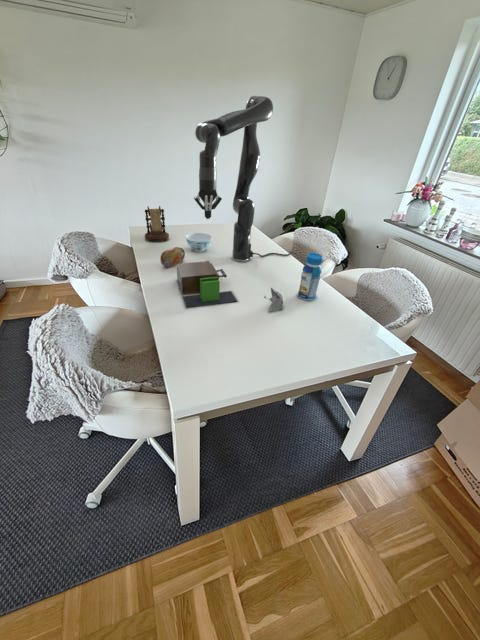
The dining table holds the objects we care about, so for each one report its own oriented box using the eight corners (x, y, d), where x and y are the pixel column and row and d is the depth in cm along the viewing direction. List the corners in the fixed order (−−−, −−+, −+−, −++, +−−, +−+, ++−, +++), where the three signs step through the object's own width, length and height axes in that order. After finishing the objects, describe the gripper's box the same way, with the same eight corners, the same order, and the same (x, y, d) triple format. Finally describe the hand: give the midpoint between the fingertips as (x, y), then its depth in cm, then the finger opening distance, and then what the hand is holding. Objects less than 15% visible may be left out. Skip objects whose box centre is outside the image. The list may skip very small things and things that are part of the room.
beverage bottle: (315, 302, 135) (325, 260, 124) (297, 299, 136) (304, 257, 125) (315, 293, 142) (324, 253, 131) (297, 291, 143) (305, 250, 132)
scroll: (146, 243, 183) (142, 209, 171) (143, 235, 194) (139, 203, 183) (171, 241, 187) (168, 208, 176) (166, 234, 199) (164, 202, 188)
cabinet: (208, 277, 150) (208, 261, 145) (216, 291, 138) (216, 274, 134) (177, 280, 145) (176, 263, 140) (182, 294, 134) (181, 277, 129)
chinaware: (216, 249, 182) (216, 236, 177) (201, 256, 171) (201, 243, 167) (197, 243, 188) (197, 231, 184) (181, 250, 177) (180, 237, 173)
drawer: (220, 275, 150) (221, 262, 147) (228, 287, 140) (229, 274, 136) (182, 278, 145) (181, 265, 141) (187, 291, 134) (186, 278, 131)
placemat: (230, 291, 138) (230, 291, 138) (236, 301, 131) (237, 300, 131) (183, 297, 132) (183, 296, 132) (186, 307, 125) (186, 306, 125)
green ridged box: (216, 295, 134) (217, 275, 129) (219, 300, 131) (219, 279, 125) (200, 297, 132) (199, 276, 126) (202, 302, 129) (202, 281, 123)
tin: (164, 269, 154) (162, 253, 150) (160, 267, 156) (158, 252, 151) (185, 261, 164) (184, 246, 160) (181, 259, 166) (180, 244, 161)
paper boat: (286, 311, 125) (266, 307, 122) (279, 317, 130) (260, 313, 128) (286, 286, 129) (267, 281, 127) (280, 293, 135) (261, 288, 133)
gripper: (194, 179, 126) (195, 221, 136) (224, 179, 130) (223, 220, 140) (191, 176, 132) (192, 216, 141) (220, 176, 136) (219, 215, 145)
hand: (207, 218), depth 140 cm, fingers closed
